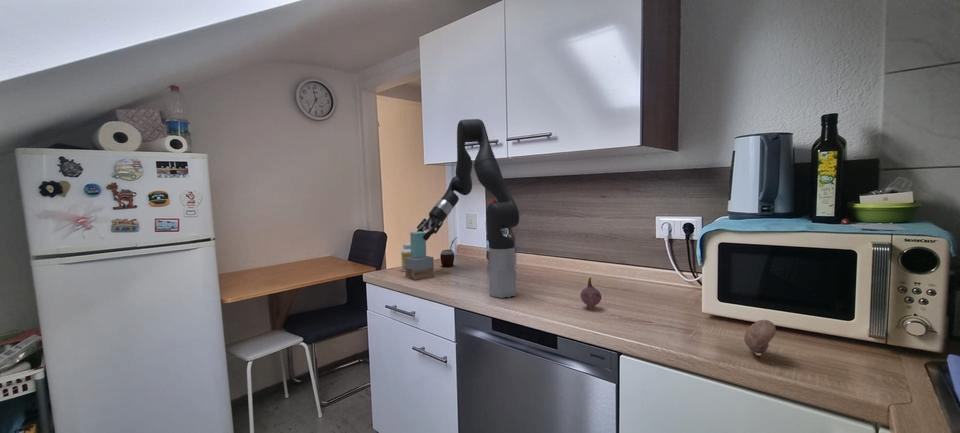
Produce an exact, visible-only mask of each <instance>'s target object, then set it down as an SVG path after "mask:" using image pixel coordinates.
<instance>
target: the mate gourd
mask: <svg viewBox="0 0 960 433" xmlns="http://www.w3.org/2000/svg"><path fill="white" fill-rule="evenodd" d="M458 237H459V236H456V237H455V238H454V239H453V240H451V245H450V247H449V249H443V250H441V252H440V255H439V256H440V257H439V258H440V263H441V268H446V267H447V268H451V267H454V266H455V265H454V263H455V252H454V250H453V249H452V247H453V244H454V242H455V240H457V239H458Z"/></svg>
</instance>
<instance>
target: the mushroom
mask: <svg viewBox="0 0 960 433" xmlns="http://www.w3.org/2000/svg"><path fill="white" fill-rule="evenodd" d="M776 332H777V329H776V325H775V323H773V322H772V321H770V320H768V319H759V320H757V321H756V322H754V323H752V324H751V325H750V326H749V327H748V328H747V329H746V331H745V334H744V340H743V341H744V343H745V344H746V346H747V347H748V348H749V350H750V351H752V352H753V353H754V352H756V353H763V354H764V353H765V352H767V351H768V349H769V345H770V344H769V343H770V342H771V341H772V339H774V337H775V334H776Z"/></svg>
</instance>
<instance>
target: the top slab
mask: <svg viewBox="0 0 960 433" xmlns="http://www.w3.org/2000/svg"><path fill="white" fill-rule="evenodd" d="M434 261H435V260H434V257H433V256H428V255H426V258H419V259H415V258H412V257H406V258H405V268H408V269H411V270H415V271H418V270H423V269H428V268H433V269H434Z"/></svg>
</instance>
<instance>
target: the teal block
mask: <svg viewBox="0 0 960 433" xmlns="http://www.w3.org/2000/svg"><path fill="white" fill-rule="evenodd" d="M426 233H427V232H425V231H424V232H421V231H420V232H417V231H411V232H409V235H410V236H409V237H410V243H411V257H412V258H415V259H419V258H426V256H427V241H425V240H424V239H423V237H424V235H425V234H426Z"/></svg>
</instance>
